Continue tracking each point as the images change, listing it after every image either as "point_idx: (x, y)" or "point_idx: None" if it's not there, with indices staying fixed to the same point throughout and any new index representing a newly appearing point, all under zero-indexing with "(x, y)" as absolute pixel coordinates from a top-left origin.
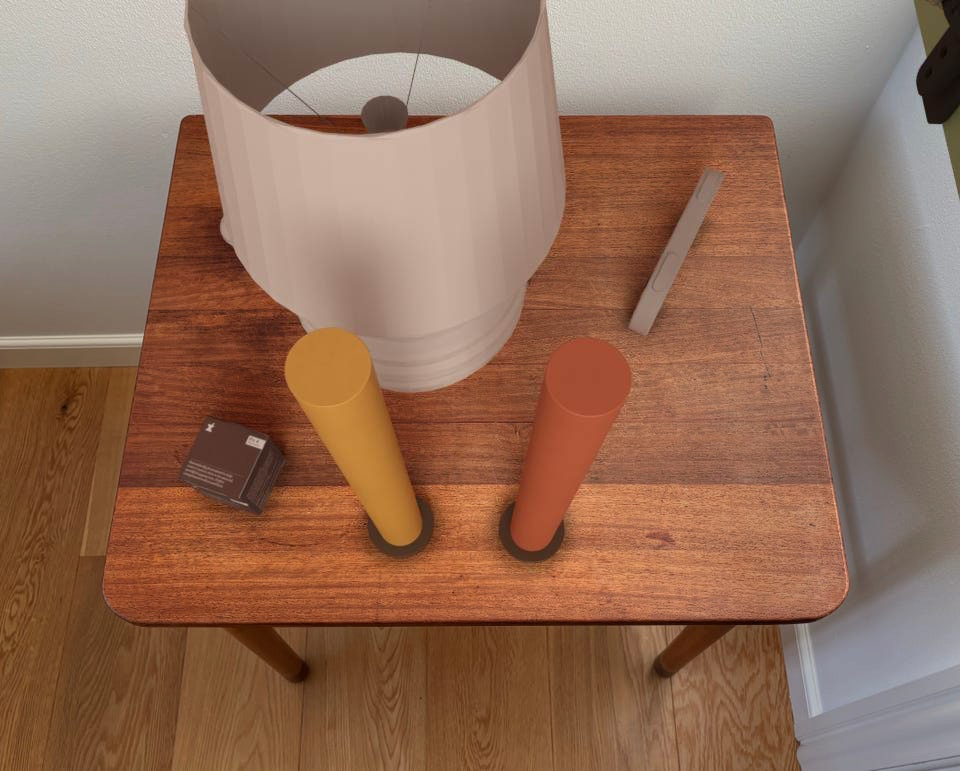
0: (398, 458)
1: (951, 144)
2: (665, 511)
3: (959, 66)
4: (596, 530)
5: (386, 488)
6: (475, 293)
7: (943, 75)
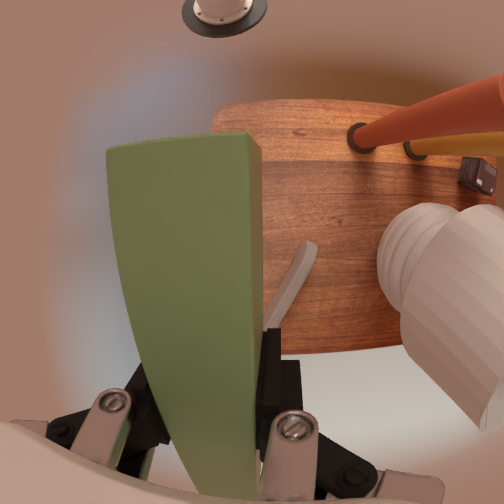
0: (486, 135)
1: (262, 299)
2: (296, 146)
3: (285, 396)
4: (331, 137)
5: None
6: (469, 223)
7: (295, 384)
